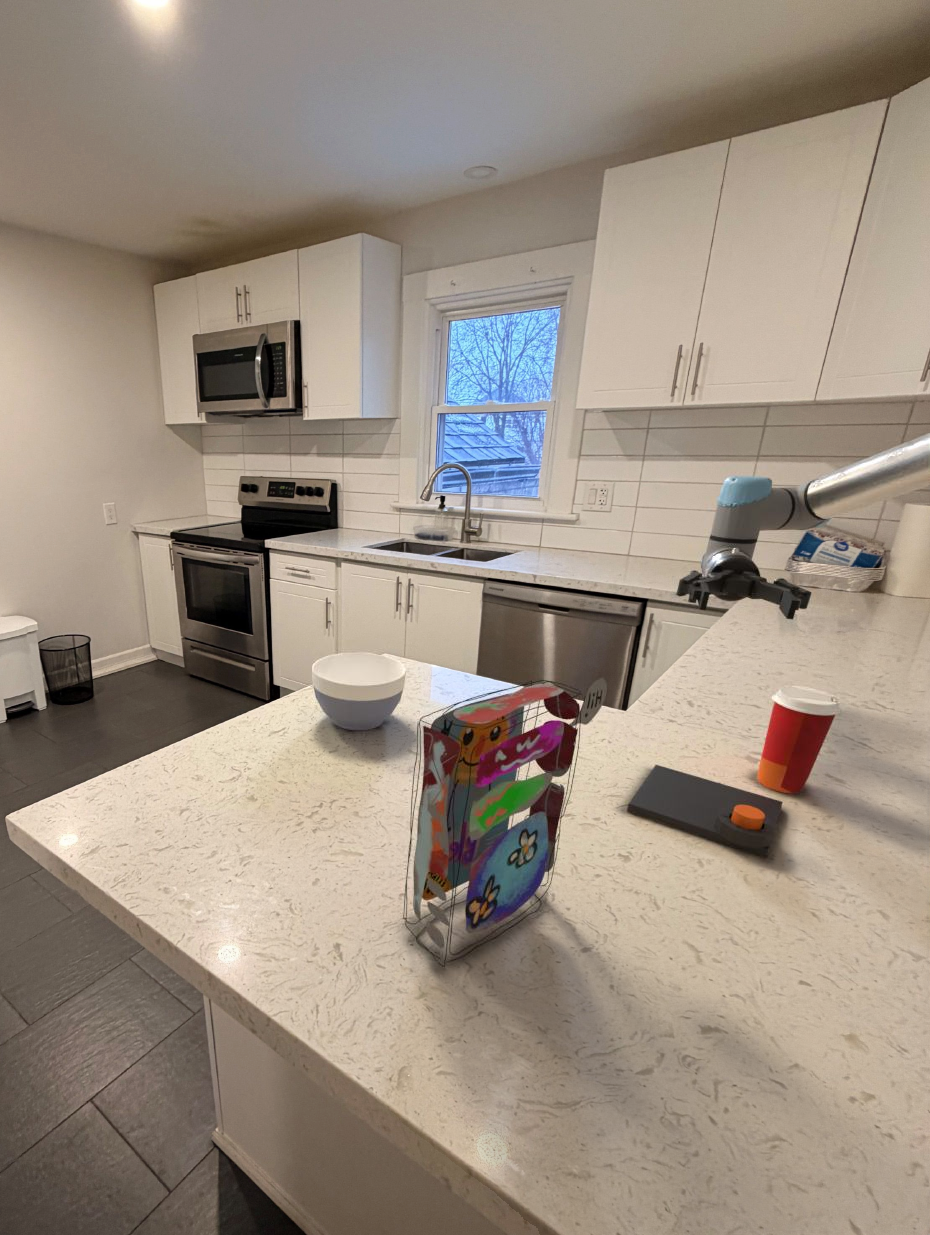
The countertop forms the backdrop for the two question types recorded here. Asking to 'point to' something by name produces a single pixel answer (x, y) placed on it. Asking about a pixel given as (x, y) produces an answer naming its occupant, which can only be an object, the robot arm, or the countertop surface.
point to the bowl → (358, 688)
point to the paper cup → (795, 736)
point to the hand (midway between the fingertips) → (747, 605)
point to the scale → (705, 808)
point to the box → (492, 803)
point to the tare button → (748, 817)
